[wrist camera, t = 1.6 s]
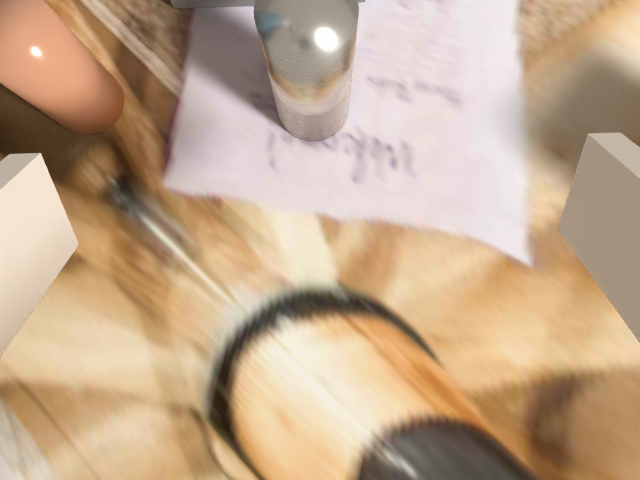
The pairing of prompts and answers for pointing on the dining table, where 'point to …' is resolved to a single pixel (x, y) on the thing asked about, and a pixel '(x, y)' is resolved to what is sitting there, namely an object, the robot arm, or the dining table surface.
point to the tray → (214, 3)
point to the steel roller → (309, 61)
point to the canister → (55, 69)
